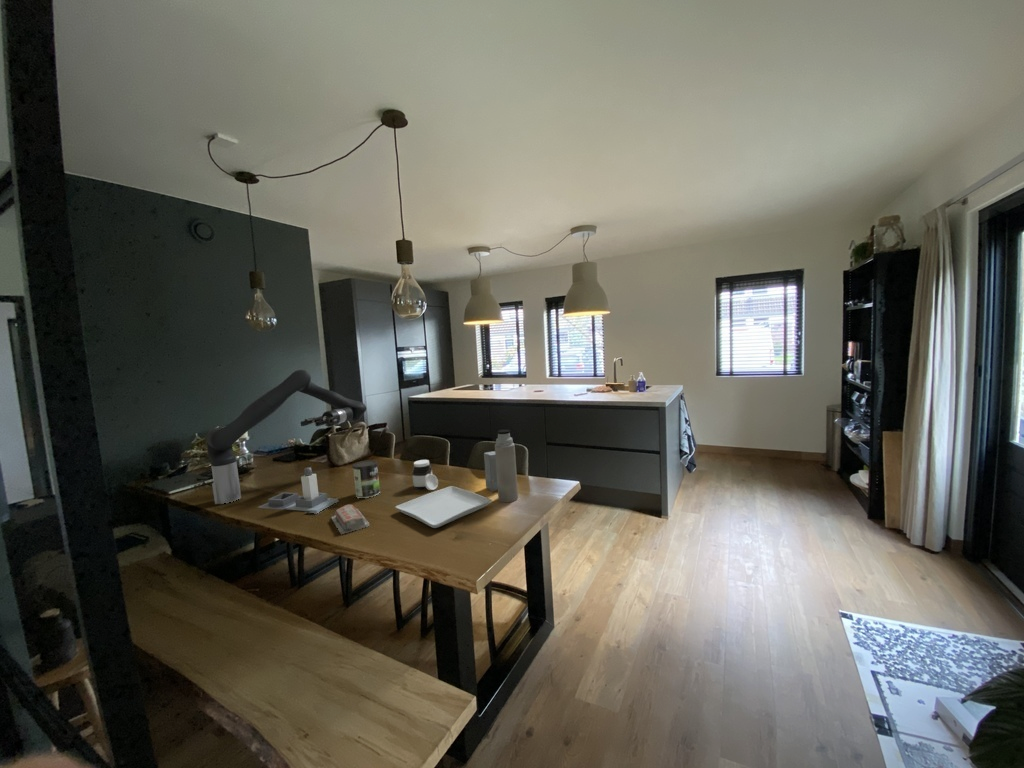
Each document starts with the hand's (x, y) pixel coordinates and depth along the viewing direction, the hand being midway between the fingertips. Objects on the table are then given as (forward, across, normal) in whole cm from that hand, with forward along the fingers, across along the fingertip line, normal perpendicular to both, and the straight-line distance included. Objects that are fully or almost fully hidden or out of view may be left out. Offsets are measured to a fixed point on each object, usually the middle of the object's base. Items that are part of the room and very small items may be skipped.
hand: (308, 424), depth 184 cm
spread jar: (-13, +51, +32) cm, 61 cm away
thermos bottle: (-6, +92, +32) cm, 97 cm away
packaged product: (+25, +40, +32) cm, 57 cm away
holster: (+15, -3, +32) cm, 35 cm away
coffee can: (-1, +28, +32) cm, 42 cm away
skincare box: (-17, +83, +32) cm, 91 cm away
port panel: (+15, +13, +32) cm, 37 cm away
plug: (+15, +13, +30) cm, 36 cm away
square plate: (+9, +71, +32) cm, 79 cm away
